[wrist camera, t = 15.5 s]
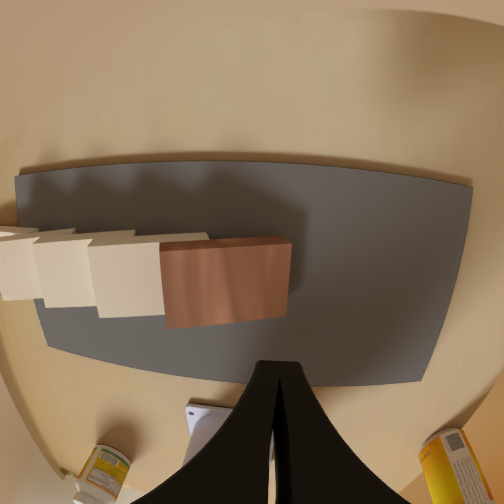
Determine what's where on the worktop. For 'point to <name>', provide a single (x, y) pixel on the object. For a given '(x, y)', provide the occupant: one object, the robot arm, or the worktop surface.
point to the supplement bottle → (102, 476)
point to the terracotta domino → (224, 280)
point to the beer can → (453, 470)
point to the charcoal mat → (301, 265)
